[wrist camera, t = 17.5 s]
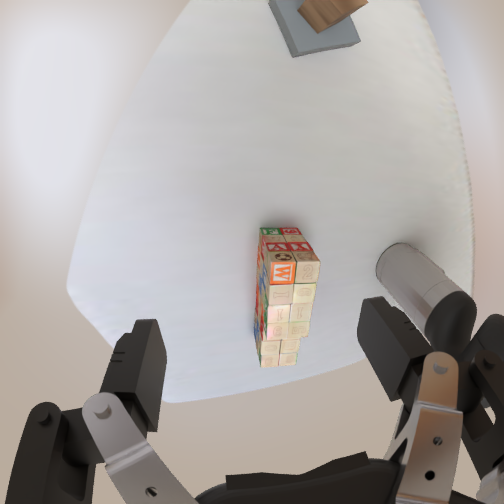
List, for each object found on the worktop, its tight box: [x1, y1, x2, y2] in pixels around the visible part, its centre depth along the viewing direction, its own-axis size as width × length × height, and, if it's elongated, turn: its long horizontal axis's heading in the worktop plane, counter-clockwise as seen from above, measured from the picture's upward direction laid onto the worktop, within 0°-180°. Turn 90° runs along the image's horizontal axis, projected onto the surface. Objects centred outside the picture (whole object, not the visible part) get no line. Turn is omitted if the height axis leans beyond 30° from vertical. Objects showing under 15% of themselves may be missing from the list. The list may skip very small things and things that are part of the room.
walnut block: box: [297, 0, 368, 34], centre depth 25 cm, size 4×4×9 cm
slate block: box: [268, 0, 361, 58], centre depth 31 cm, size 10×10×4 cm
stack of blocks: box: [254, 228, 320, 367], centre depth 45 cm, size 21×6×12 cm, turn 178°
